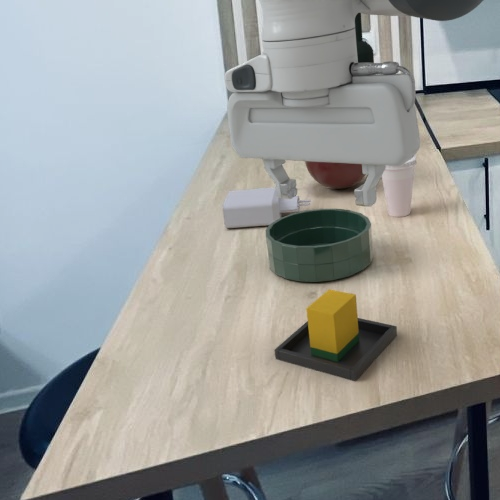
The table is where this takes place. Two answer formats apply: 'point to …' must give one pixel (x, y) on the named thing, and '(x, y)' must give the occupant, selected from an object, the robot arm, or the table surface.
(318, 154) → the robot arm
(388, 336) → the square tray
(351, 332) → the sponge
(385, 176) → the smoothie
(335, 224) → the basin
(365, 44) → the wine bottle
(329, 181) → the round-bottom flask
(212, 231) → the table surface
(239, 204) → the charger
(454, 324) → the table surface
